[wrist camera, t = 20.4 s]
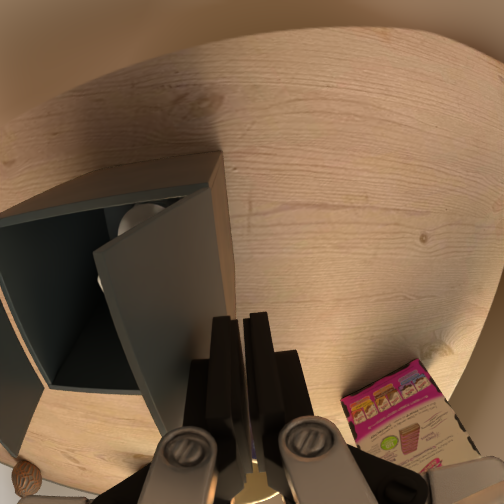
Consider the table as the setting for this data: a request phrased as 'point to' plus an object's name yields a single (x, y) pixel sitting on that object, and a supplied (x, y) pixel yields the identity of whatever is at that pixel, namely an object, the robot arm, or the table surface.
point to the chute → (83, 280)
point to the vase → (26, 479)
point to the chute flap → (165, 299)
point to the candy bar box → (408, 421)
